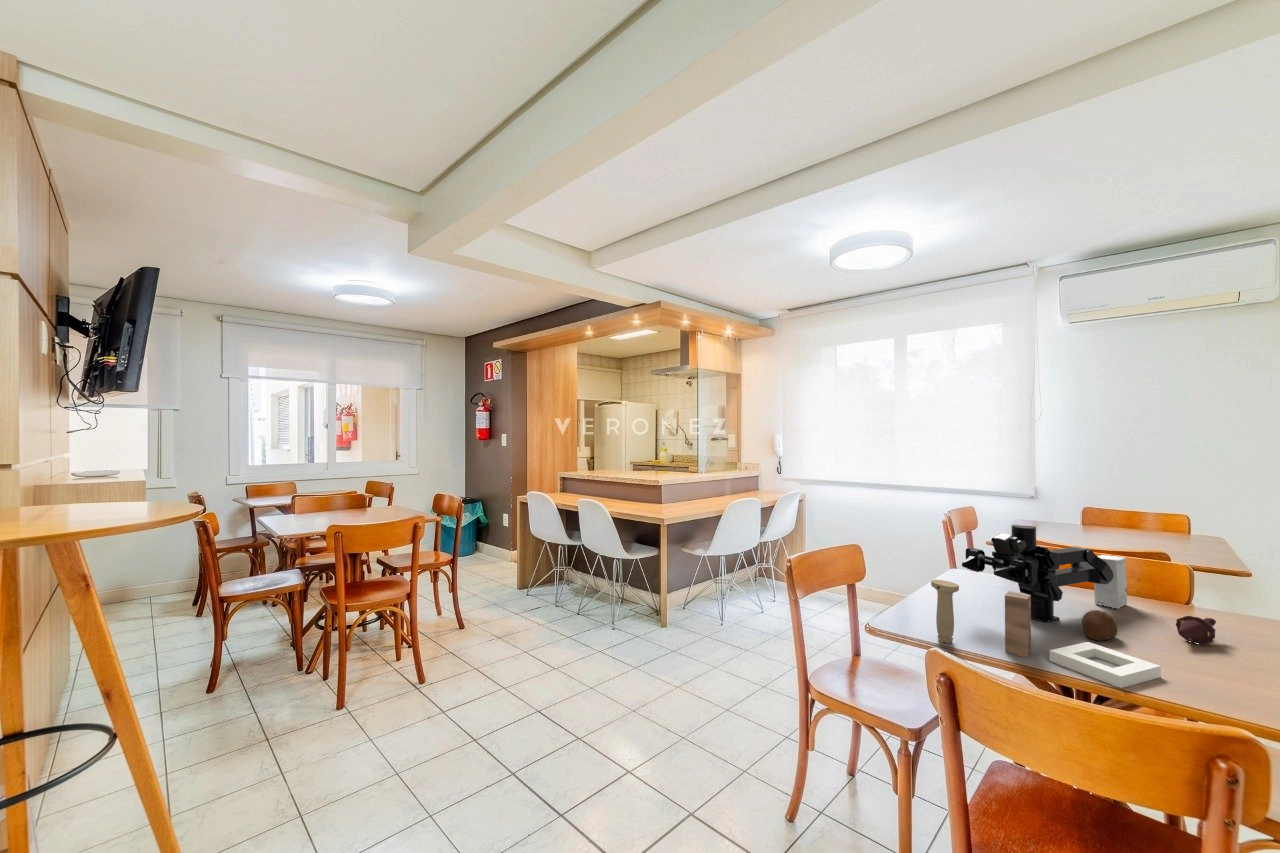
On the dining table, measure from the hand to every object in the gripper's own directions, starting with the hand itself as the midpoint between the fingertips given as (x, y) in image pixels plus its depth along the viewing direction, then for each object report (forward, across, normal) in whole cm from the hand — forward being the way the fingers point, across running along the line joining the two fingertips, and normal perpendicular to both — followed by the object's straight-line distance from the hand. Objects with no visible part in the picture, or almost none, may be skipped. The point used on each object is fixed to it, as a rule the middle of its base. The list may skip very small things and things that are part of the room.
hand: (977, 568), depth 144 cm
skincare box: (-57, 0, +17) cm, 60 cm away
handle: (+16, +3, +17) cm, 23 cm away
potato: (-24, +15, +17) cm, 33 cm away
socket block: (-4, +27, +17) cm, 32 cm away
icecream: (-43, +26, +17) cm, 53 cm away
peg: (+5, +14, +17) cm, 22 cm away
